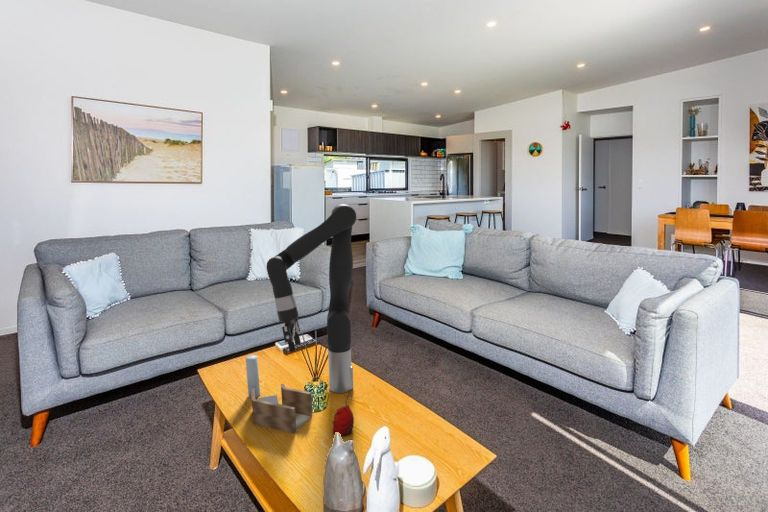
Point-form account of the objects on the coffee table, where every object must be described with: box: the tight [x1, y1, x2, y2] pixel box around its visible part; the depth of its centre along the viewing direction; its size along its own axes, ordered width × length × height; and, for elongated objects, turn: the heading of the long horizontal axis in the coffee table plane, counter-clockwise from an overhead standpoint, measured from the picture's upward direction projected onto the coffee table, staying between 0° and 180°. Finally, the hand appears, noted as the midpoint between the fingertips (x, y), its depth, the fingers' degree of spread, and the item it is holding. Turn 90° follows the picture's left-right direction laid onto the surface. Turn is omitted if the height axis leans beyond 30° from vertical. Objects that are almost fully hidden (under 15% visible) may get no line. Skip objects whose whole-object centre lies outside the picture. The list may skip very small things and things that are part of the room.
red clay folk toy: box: [332, 392, 355, 436], centre depth 141 cm, size 8×7×15 cm
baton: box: [245, 355, 261, 399], centre depth 165 cm, size 4×4×16 cm
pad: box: [258, 394, 279, 404], centre depth 162 cm, size 7×7×1 cm
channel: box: [251, 383, 313, 435], centre depth 149 cm, size 20×20×9 cm
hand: (295, 347), depth 161 cm, fingers open, 8 cm apart
